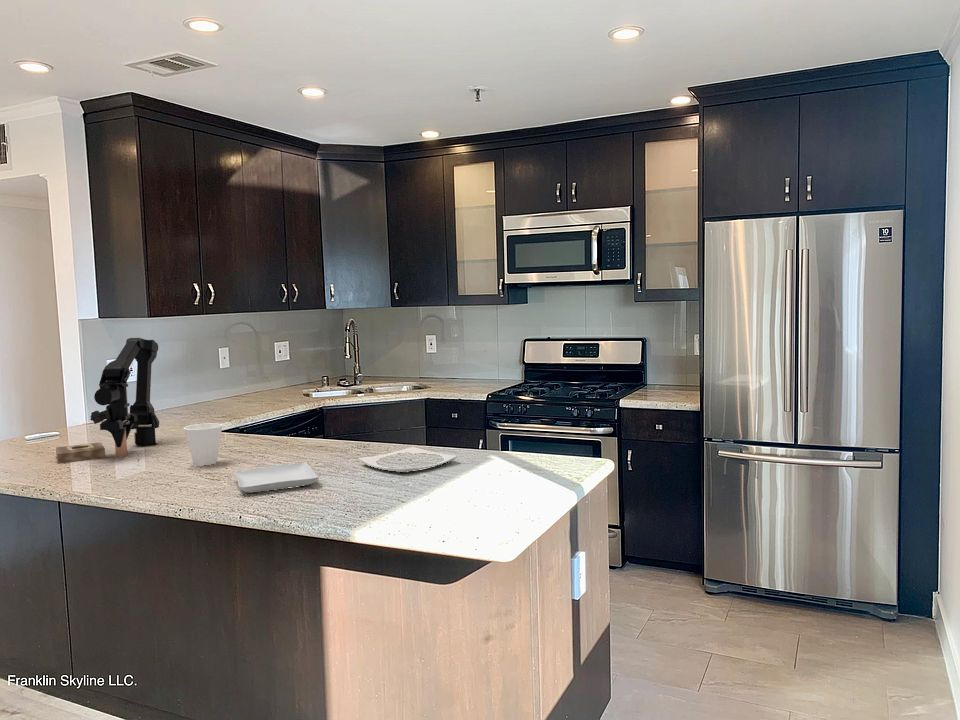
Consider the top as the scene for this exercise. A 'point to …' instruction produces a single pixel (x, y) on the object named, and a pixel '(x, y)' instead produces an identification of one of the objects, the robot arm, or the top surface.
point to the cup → (203, 442)
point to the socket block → (80, 452)
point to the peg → (122, 448)
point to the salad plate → (275, 477)
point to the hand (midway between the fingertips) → (121, 446)
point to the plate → (372, 460)
